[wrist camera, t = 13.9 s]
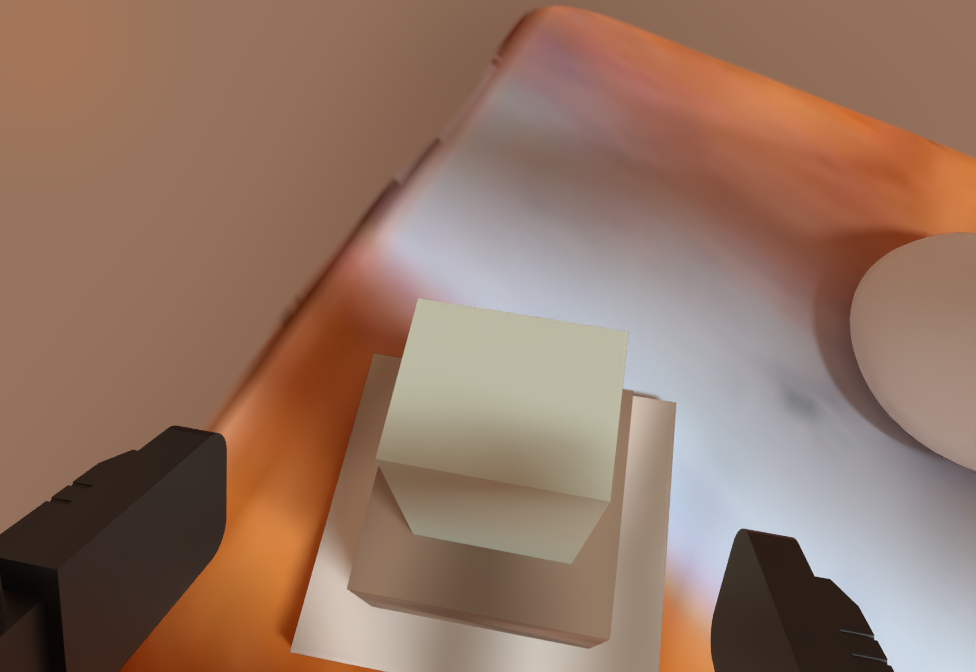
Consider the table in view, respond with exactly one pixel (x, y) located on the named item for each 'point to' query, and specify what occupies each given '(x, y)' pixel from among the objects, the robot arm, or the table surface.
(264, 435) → the table surface
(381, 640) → the tower base
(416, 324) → the sage brick
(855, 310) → the flower in vase
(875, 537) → the table surface
